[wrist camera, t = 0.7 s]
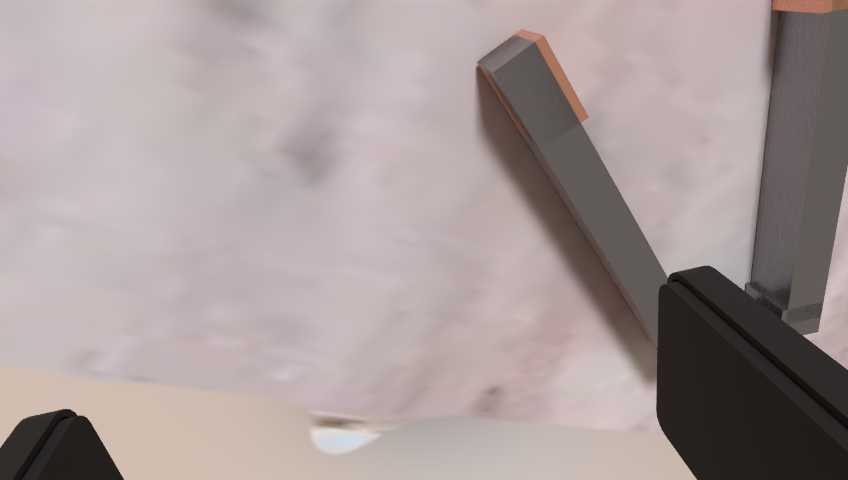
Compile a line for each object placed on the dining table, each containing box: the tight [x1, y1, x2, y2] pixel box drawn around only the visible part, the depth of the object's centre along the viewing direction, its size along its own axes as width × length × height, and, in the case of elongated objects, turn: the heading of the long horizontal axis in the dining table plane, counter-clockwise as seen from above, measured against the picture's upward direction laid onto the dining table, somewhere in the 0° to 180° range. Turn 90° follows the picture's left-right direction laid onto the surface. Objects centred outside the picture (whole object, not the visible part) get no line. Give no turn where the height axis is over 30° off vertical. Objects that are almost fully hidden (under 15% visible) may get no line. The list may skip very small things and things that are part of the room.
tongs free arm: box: [477, 29, 668, 349], centre depth 28 cm, size 5×22×3 cm, turn 35°
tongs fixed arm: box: [745, 0, 848, 335], centre depth 27 cm, size 2×21×3 cm, turn 10°
